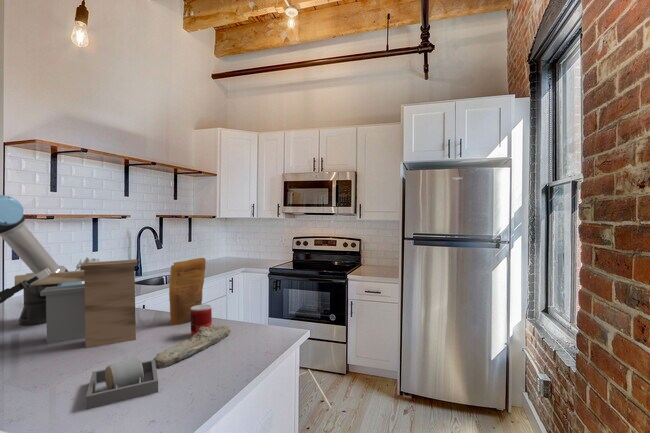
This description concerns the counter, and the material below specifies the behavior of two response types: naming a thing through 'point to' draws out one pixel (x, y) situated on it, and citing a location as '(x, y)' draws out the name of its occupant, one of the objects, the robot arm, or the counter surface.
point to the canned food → (200, 317)
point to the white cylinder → (124, 373)
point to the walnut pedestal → (109, 302)
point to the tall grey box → (65, 312)
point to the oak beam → (54, 278)
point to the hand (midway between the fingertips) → (48, 271)
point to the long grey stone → (192, 345)
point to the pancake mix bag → (185, 289)
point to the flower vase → (85, 262)
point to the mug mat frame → (121, 392)
